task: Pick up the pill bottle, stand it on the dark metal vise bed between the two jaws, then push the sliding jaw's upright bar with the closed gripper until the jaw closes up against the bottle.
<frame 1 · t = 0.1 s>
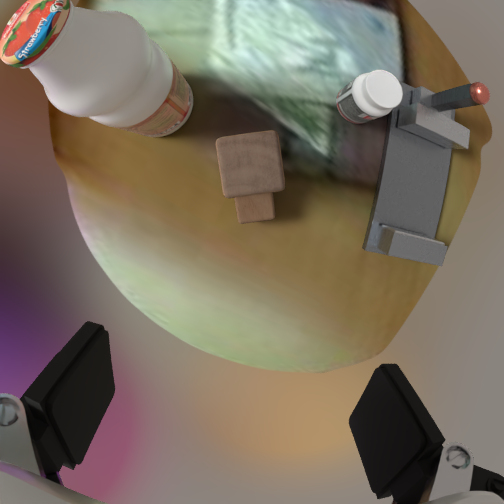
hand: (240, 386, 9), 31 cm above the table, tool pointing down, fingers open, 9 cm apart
sliding jaw: (453, 111, 26), point 8 cm above the table, slide at 0.0 cm
vise bed: (414, 172, 37), on the table
wooden block: (251, 182, 37), on the table
fruit juice: (161, 105, 34), on the table
pill bottle: (353, 105, 34), on the table
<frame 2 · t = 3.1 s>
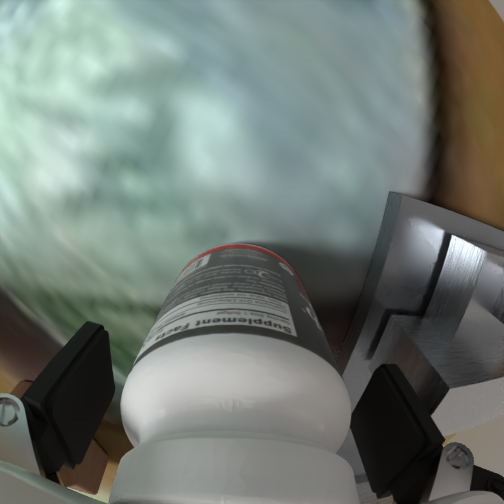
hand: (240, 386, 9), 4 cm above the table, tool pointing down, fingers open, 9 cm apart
vise bed: (393, 407, 15), on the table
wooden block: (66, 420, 16), on the table
pill bottle: (238, 299, 13), on the table
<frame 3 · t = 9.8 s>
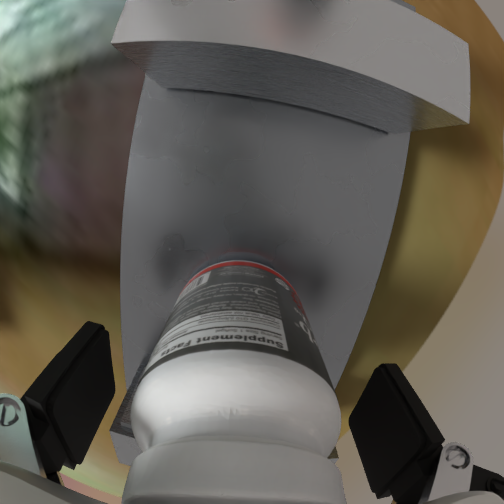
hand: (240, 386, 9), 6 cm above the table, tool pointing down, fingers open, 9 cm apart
vise bed: (260, 209, 13), on the table
pill bottle: (239, 312, 13), point 1 cm above the table, touching vise bed
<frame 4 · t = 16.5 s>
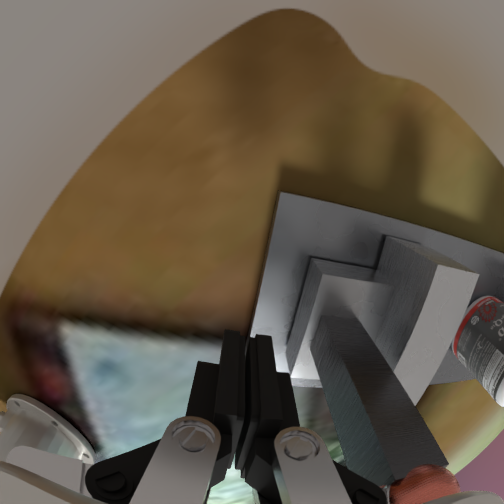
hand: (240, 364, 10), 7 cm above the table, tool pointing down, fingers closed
sliding jaw: (402, 391, 9), point 8 cm above the table, slide at 1.7 cm, touching gripper
vise bed: (429, 314, 18), on the table
pill bottle: (472, 324, 17), point 1 cm above the table, touching vise bed
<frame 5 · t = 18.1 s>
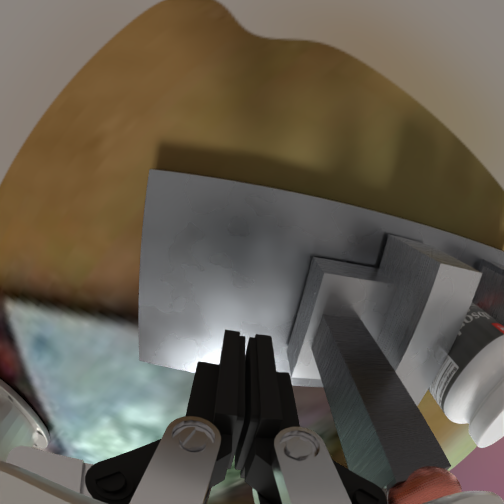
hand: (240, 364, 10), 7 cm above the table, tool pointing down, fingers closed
sliding jaw: (404, 391, 9), point 8 cm above the table, slide at 8.5 cm, touching gripper, pill bottle
vise bed: (354, 304, 17), on the table
pill bottle: (428, 321, 17), point 1 cm above the table, touching sliding jaw, vise bed
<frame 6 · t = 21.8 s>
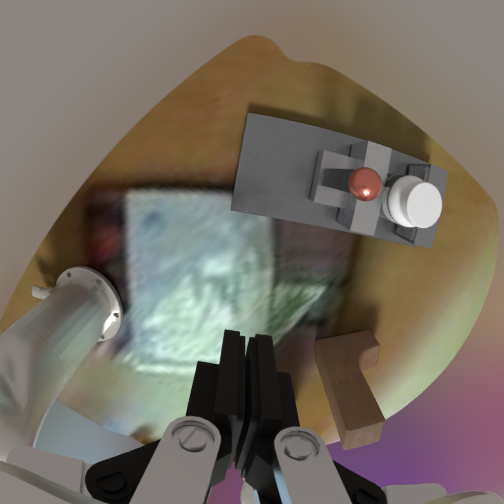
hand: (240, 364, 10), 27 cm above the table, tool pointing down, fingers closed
sliding jaw: (362, 185, 27), point 8 cm above the table, slide at 8.5 cm
vise bed: (341, 182, 35), on the table
wooden block: (342, 344, 42), on the table
pill bottle: (383, 194, 34), point 1 cm above the table, touching vise bed
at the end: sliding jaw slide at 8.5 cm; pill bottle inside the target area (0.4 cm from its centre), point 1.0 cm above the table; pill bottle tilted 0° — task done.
